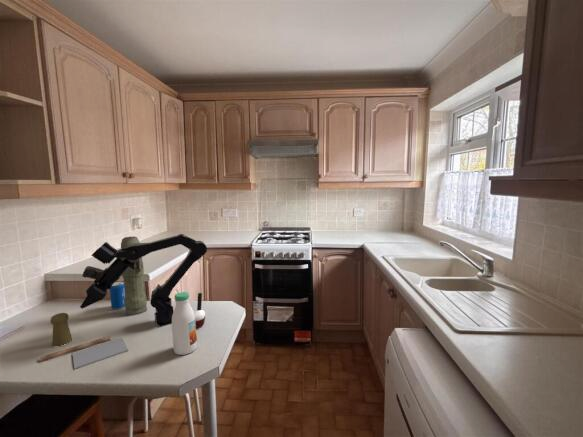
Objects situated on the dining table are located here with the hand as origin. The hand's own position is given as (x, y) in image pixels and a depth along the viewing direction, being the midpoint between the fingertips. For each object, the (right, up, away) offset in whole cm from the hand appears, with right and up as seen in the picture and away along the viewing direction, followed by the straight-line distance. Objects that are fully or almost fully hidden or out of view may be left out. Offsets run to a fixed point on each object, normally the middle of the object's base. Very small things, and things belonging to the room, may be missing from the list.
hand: (84, 303), depth 108 cm
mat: (+13, -14, -10) cm, 21 cm away
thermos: (+7, -11, +24) cm, 27 cm away
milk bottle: (+42, -13, -9) cm, 45 cm away
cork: (-7, -14, -2) cm, 16 cm away
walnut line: (+3, -14, -7) cm, 16 cm away
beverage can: (-4, -11, +29) cm, 31 cm away
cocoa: (+41, -12, +8) cm, 43 cm away
